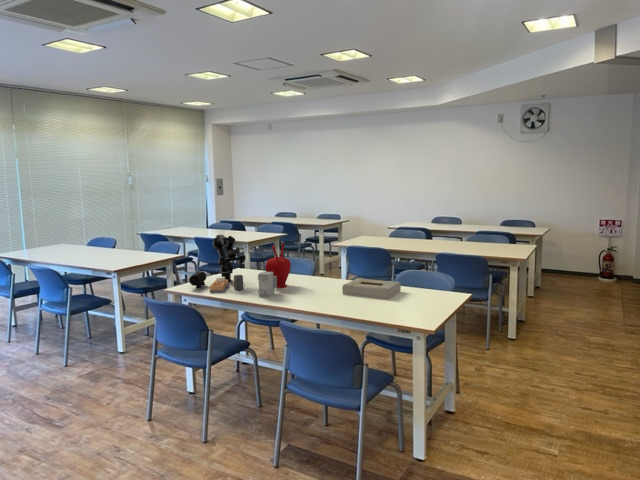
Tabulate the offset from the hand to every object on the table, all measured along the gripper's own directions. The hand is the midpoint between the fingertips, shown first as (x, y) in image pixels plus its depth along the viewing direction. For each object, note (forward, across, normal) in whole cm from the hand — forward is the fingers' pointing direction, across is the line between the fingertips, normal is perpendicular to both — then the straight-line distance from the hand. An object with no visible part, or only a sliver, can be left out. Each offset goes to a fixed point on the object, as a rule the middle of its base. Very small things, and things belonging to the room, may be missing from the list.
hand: (234, 269), depth 325 cm
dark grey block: (+15, 0, +4) cm, 15 cm away
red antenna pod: (+18, +28, +1) cm, 34 cm away
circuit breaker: (+31, +13, -12) cm, 36 cm away
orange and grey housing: (+8, -11, +11) cm, 17 cm away
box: (+54, +73, -34) cm, 97 cm away
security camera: (-2, -22, +20) cm, 30 cm away
